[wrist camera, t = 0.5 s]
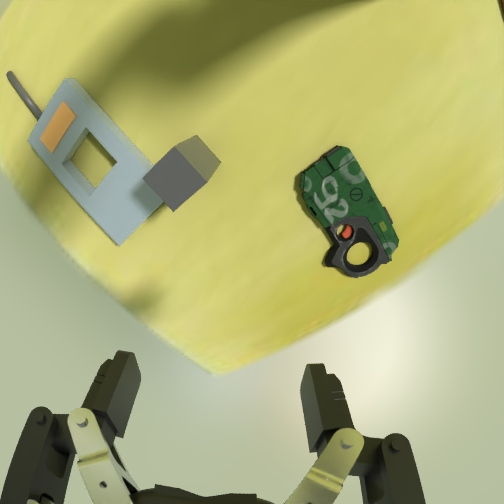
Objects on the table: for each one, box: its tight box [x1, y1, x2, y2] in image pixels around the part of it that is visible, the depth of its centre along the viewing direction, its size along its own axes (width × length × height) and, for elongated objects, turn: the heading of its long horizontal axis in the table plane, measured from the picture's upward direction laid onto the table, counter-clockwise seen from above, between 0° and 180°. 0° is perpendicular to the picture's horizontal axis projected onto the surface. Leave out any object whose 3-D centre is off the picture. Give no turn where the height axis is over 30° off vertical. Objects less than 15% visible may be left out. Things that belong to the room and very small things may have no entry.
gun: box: [300, 145, 399, 278], centre depth 31 cm, size 16×2×10 cm
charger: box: [142, 135, 221, 212], centre depth 25 cm, size 4×4×8 cm
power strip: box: [6, 71, 164, 246], centre depth 25 cm, size 10×33×2 cm, turn 39°
